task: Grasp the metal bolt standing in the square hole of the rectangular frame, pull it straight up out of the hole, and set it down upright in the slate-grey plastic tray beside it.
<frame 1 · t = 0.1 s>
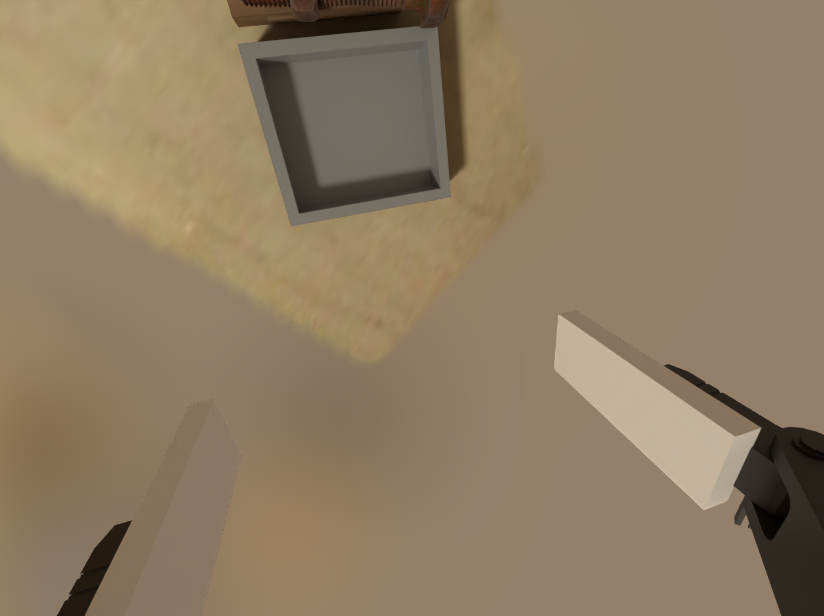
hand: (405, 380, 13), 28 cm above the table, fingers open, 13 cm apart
bolt: (344, 9, 27), point 3 cm above the table, touching rectangular frame
tray: (355, 133, 34), on the table
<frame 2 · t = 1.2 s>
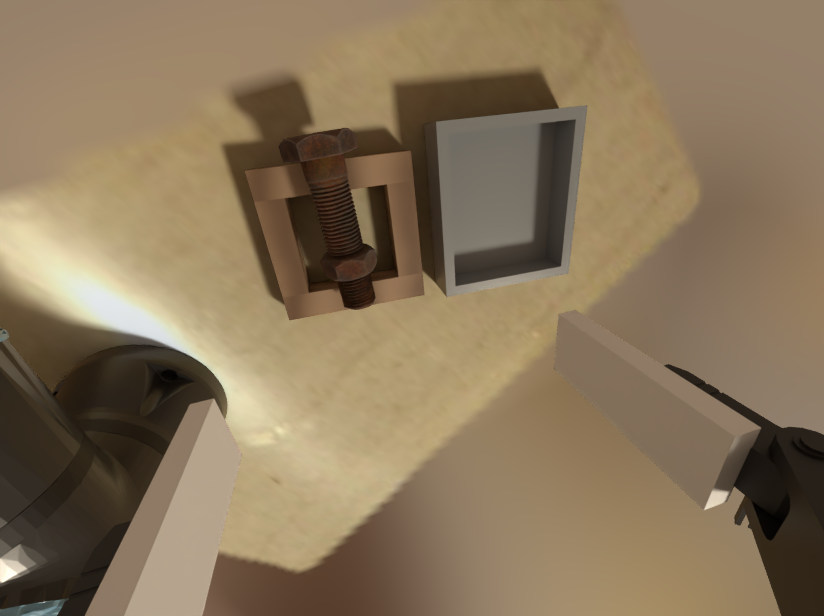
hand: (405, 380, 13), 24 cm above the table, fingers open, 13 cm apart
bolt: (344, 238, 27), point 7 cm above the table, touching rectangular frame
tray: (493, 202, 36), on the table
rectangular frame: (345, 234, 34), on the table
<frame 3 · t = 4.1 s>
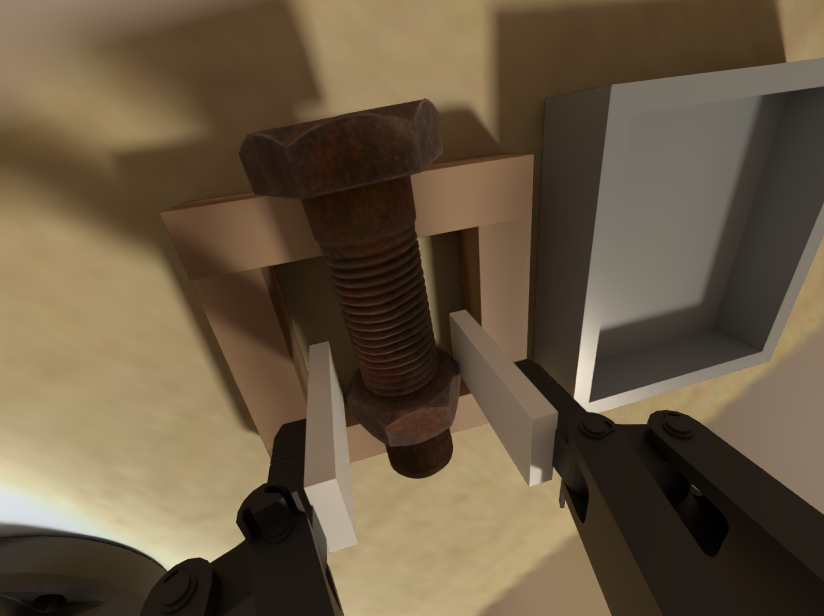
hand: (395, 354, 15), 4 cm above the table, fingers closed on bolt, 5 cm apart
bolt: (411, 373, 11), point 7 cm above the table, touching gripper, rectangular frame
tray: (644, 242, 20), on the table
rectangular frame: (382, 316, 18), on the table
when the fingers open (6 cm above the table, at t = 12.1 s): bolt drops 2 cm, resting on tray.
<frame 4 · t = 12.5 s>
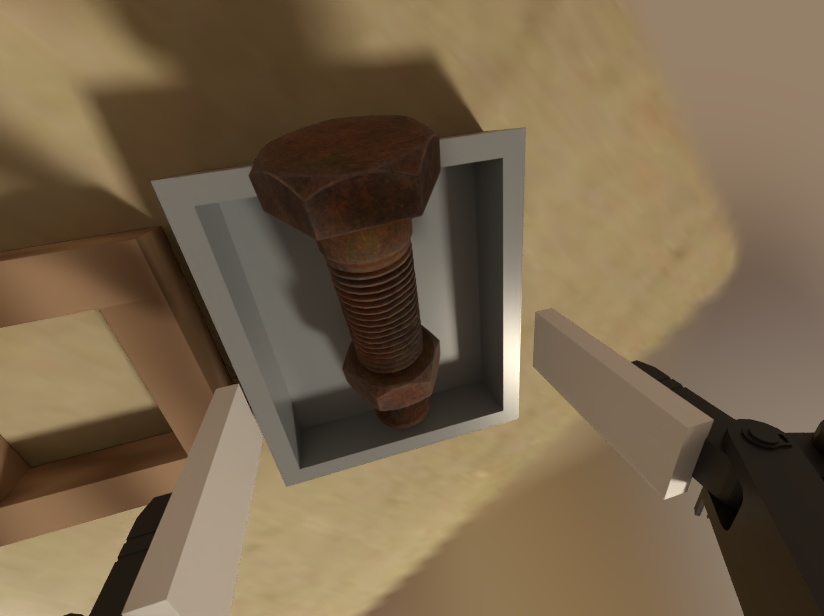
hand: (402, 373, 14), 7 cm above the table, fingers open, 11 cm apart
bolt: (401, 363, 13), point 7 cm above the table, touching tray
tray: (375, 301, 20), on the table
rectangular frame: (75, 384, 18), on the table
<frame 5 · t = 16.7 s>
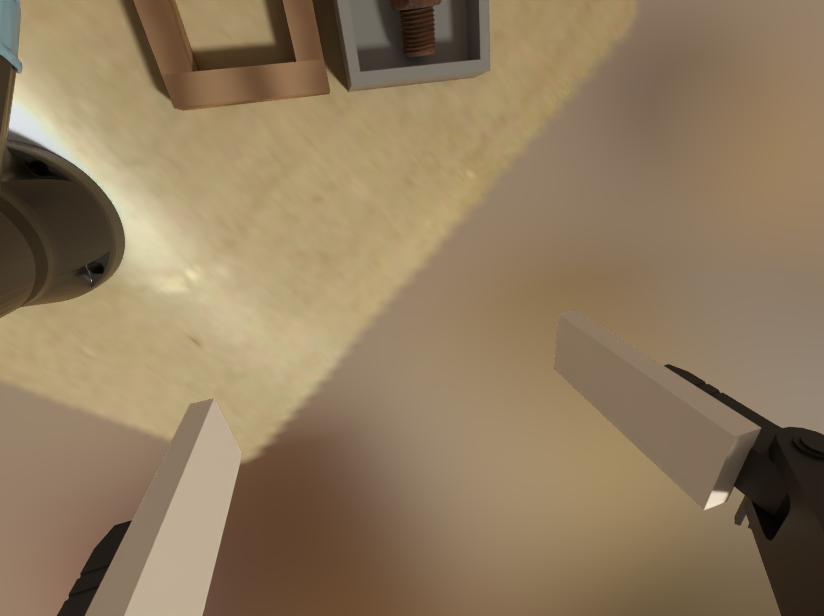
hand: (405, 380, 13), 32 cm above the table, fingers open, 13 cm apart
rectangular frame: (233, 12, 31), on the table
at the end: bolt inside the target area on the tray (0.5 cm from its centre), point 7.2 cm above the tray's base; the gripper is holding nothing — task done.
